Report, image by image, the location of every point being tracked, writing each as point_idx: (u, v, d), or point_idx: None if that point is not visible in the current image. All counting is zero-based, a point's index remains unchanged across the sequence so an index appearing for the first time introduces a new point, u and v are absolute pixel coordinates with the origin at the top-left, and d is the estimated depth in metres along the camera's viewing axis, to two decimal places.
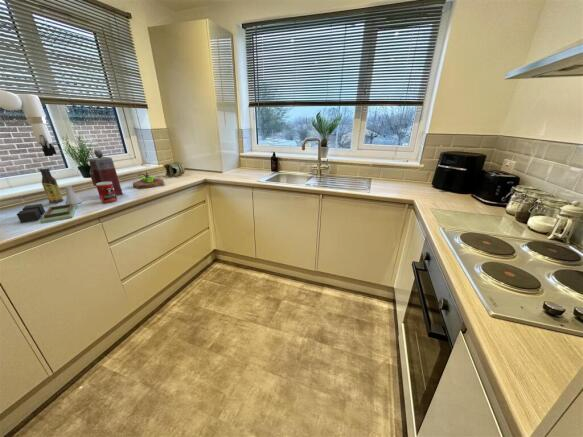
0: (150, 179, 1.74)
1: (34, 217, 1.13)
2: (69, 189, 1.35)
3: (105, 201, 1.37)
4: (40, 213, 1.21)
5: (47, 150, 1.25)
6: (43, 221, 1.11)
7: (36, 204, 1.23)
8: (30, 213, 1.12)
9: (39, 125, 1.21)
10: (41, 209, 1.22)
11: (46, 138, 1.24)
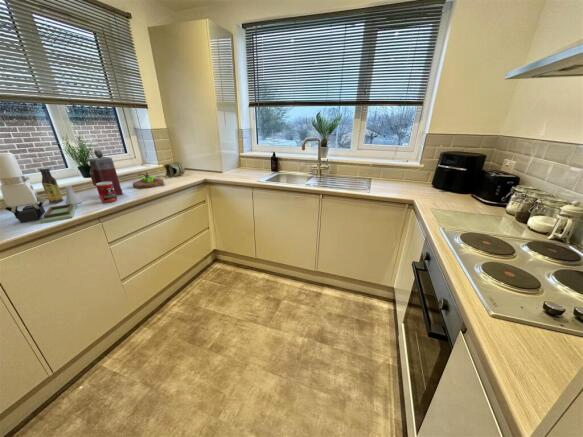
0: (150, 179, 1.74)
1: (34, 217, 1.13)
2: (69, 189, 1.35)
3: (105, 201, 1.37)
4: None
5: None
6: (43, 221, 1.11)
7: None
8: (30, 213, 1.12)
9: None
10: (41, 209, 1.22)
11: (5, 201, 1.07)
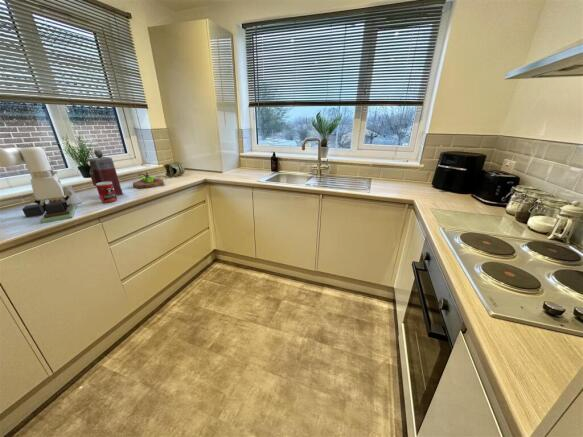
0: (150, 179, 1.74)
1: (61, 210, 1.17)
2: (69, 189, 1.35)
3: (105, 201, 1.37)
4: (40, 213, 1.21)
5: None
6: (43, 221, 1.11)
7: (36, 204, 1.23)
8: (57, 206, 1.16)
9: None
10: (41, 209, 1.22)
11: (34, 194, 1.11)
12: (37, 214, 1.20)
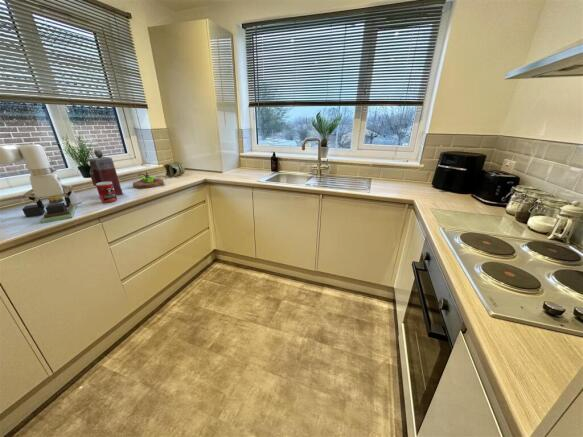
0: (150, 179, 1.74)
1: (61, 211, 1.17)
2: None
3: (105, 201, 1.37)
4: (40, 213, 1.21)
5: None
6: (43, 221, 1.11)
7: (36, 204, 1.23)
8: (58, 207, 1.16)
9: None
10: None
11: None
12: (37, 214, 1.20)
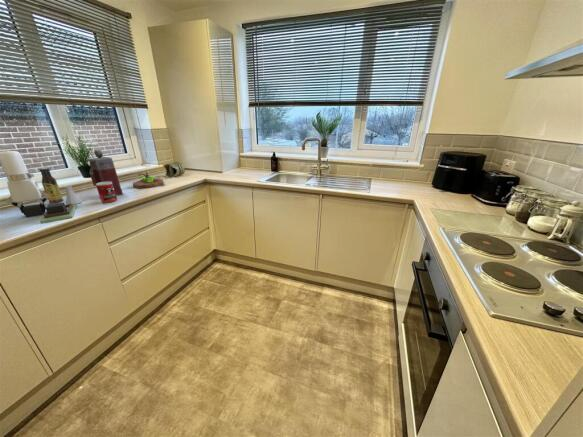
0: (150, 179, 1.74)
1: (61, 211, 1.17)
2: (69, 189, 1.35)
3: (105, 201, 1.37)
4: (40, 213, 1.21)
5: None
6: (43, 221, 1.11)
7: (36, 204, 1.23)
8: (58, 207, 1.16)
9: (7, 183, 1.13)
10: None
11: (11, 197, 1.14)
12: (37, 214, 1.20)
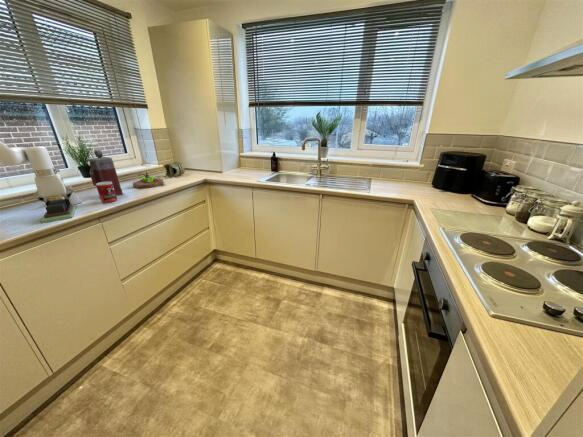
0: (150, 179, 1.74)
1: (61, 211, 1.17)
2: None
3: (105, 201, 1.37)
4: None
5: None
6: (43, 221, 1.11)
7: (61, 199, 1.25)
8: (58, 207, 1.16)
9: None
10: None
11: (38, 192, 1.16)
12: None
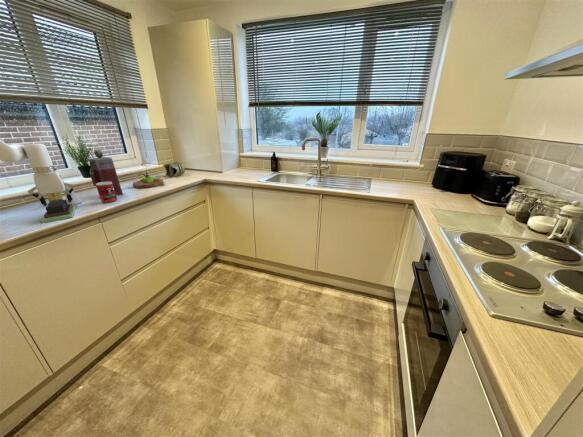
0: (150, 179, 1.74)
1: (61, 211, 1.17)
2: (69, 189, 1.35)
3: (105, 201, 1.37)
4: None
5: None
6: (43, 221, 1.11)
7: (60, 200, 1.25)
8: (58, 207, 1.16)
9: (33, 176, 1.14)
10: (66, 205, 1.23)
11: (37, 189, 1.15)
12: None
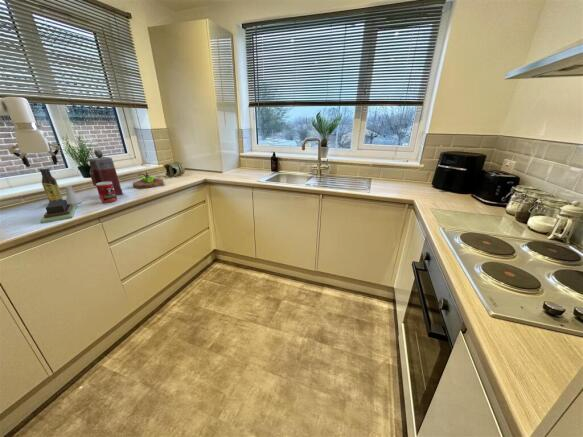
0: (150, 179, 1.74)
1: (61, 211, 1.17)
2: (69, 189, 1.35)
3: (105, 201, 1.37)
4: None
5: None
6: (43, 221, 1.11)
7: (60, 200, 1.25)
8: (58, 207, 1.16)
9: (14, 132, 1.06)
10: (66, 205, 1.23)
11: (18, 147, 1.08)
12: None
